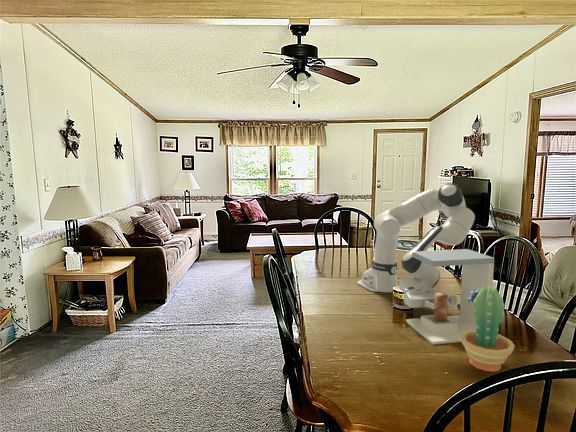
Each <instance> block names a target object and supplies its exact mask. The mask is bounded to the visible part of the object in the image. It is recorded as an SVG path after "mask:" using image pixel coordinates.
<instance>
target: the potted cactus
mask: <svg viewBox="0 0 576 432" xmlns="http://www.w3.org/2000/svg"><path fill="white" fill-rule="evenodd" d="M467 300H468V305H469V302H470V301H471V302H472V303H473V309H474V316H475V319H476V330H470V331H464V332H463V333H462V334H461V335H460V339H461V341H462V342H461V343H462V345H463V346H464V350H465V352H466V354H467V356H468V357H469V363H470V365H472V366H474V367H475V368H476V369H478V370H482V371H484V372H498V371H500V370H501V369H502V365H503V364H504V363H505V362H506V361H507V359H508V357H509V356H511V354H512V353H513V352H514V350H515V347H516V346H515V344H514V343H513V341H512V340H511V339H509V338H507V337H506V336H503V335H501V334H499V329H500V324H501V322H502V320H503V317H504V311H505V303H504V299H503V297H502V295H501V294H500V292H499V291H498V289H497V287H492V289H491V287H489V286H488V287H487V288H485V287H482V288H481V289H479V288H478V289H474V290H473V291H471V292H470V293H469V295H468V297H467Z"/></svg>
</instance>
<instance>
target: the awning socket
mask: <svg viewBox="0 0 576 432" xmlns="http://www.w3.org/2000/svg"><path fill="white" fill-rule="evenodd" d="M412 257H414V258H416V259H418V260H420V261H422V262H424V263H426V264H428V265H431V266H433V267H451V266H462V268H461V285H460V301H459V304H460V311H459V314H458V315H457V314H456V315H455V314H454V315H447V319H446V321H445V322H439V321H436V320H434V314H426V315H424V314H423V315H421V316H420V317H419V318H408V319H407V318H406V319H405V323H407V325H409V326H410V327H411V328H413V329H414V330H415V331H416V332H417V333H419V335H421V336H422V337H423V338H424V339H425V340H426V341H428V342H429V343H430V344H431V345H441V344H452V343H453V344H454V343H462V341H461V339H460V335H461V334H462V333H463V332H464V331H470V330H476V319H475V316H474V309H473V303H472V302H471V301H470V302H469V305H468V300H467V297H468V295H469V293H470V292H471V291H473V290H474V289H478V288H479V289H481V288H482V287H485V288H487V287H488V286H489V287H491V289H492V288H493V283H494V268H495V257H492V256H490V255H487V254H484V253H480V252H479V251H475V250H471V249H469V248H461V249H444V250H443V249H442V250H441V249H439V250H427V251H415V252H412Z"/></svg>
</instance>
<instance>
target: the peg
mask: <svg viewBox="0 0 576 432" xmlns="http://www.w3.org/2000/svg"><path fill="white" fill-rule="evenodd" d="M447 299H448V295H447V294H445V293H435V304H436V305H437V309H433V315H434V320H436V321H439V322H445V321H446V319H447V316H448V313H447V312H448V308H447Z"/></svg>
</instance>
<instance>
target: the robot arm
mask: <svg viewBox="0 0 576 432" xmlns="http://www.w3.org/2000/svg"><path fill="white" fill-rule="evenodd" d="M434 211H438V213H439V215H441V216H442V217H444V218H445V221H444V222H443V224H441V225H436V226H433V227H432V228H431V229H429V231H428V232H426V233H425V234H423V236H422V238H421V239H420V240H418V241H417V243H416V244H415V245H413V247H411V248H410V249H409V250H408V251H407V252H406V253H405V254H403V255H402V257H401V267H402V269H404V270H405V271H406V272H408V274H409V275H407V274H406V275H403V276H402V277H400V278H399V281H398V276H397V275H398V274H397V271H398V262H397V254H398V253H397V249H398V243H399V236H400V231H401V227H404V226H407V225H409V224H412V223H414V222H416V221H418V220H420V219H422V218H423V217H425V216H427V215H428V214H430V213H432V212H434ZM475 219H476V215H475V213H474V212H473V211H472V210H471V209H470V208H468V207H467V205H466V200H465V198H464V195H463V191H462V189H461V188H460V186H459V185H458V184H456V183H452V182H451V183H449V182H448V183H445V184H444V185H441V186H440V187H439V189H435V188H430V189H427V190H424V191H422V192H420V193H417V194H415V195H414V196H413V197H411V198H408V199H407V200H405V201H404V202H402V203H400V204H398V205H396V206H394V207H393V206H392V207H391V208H388V209H387V210H384V211H383V212H381V213H379V214H377V215H376V216H375V218H374V220H373V227H374V229H375V230H376V234H375V235H376V236H375V244H374V257H373V258H374V259H373V261H371V262H369V263H370V265H371V267H369V268H368V269H367V270H365V271H363V272H362V275H361V279H359V280H357V282H356V285H359V286H360V287H362V288H364V289H367V290H368V291H371V292H375V293H376V292H377V293H393V292H392V289H393V287H396V286H398V288H399V290H400V291H401V290H402V291H403V292H404V293H403V292H402V291H401V292H402V293H403V303H404V304H405V305H406V306H408V307H409V308H412V309H415V308H416V309H417V308H418V309H419V308H430V309H432V310H434V309H437V305H436V304H435V293H445V294H447V295H448V299H447V309H451V307H452V306H455V305H457V304H458V303H457V302H458V296H457V295H456V294H454V293H452V292H449V291H446V290H439V291H438V290H437V291H435V290H434V288H435V287H436V286H437V285H438V284H439V282H440V279H441V271H440V270H439V269H438V268H437V266H435V267H433V266H431V265H428V264H426V263H424V262H422V261H420V260H418V259H416V258H414V257H412V252H415V251H429V249H430V248H431V246H433V244H435V243H436V242H438V243H441V244H443V245H446V246H458V245H460V244H462V243H463V242H464V240H465V239H466V237H467V235H468V234H469V233H470V230H471V228H472V227H473V225H474V222H475Z"/></svg>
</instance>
